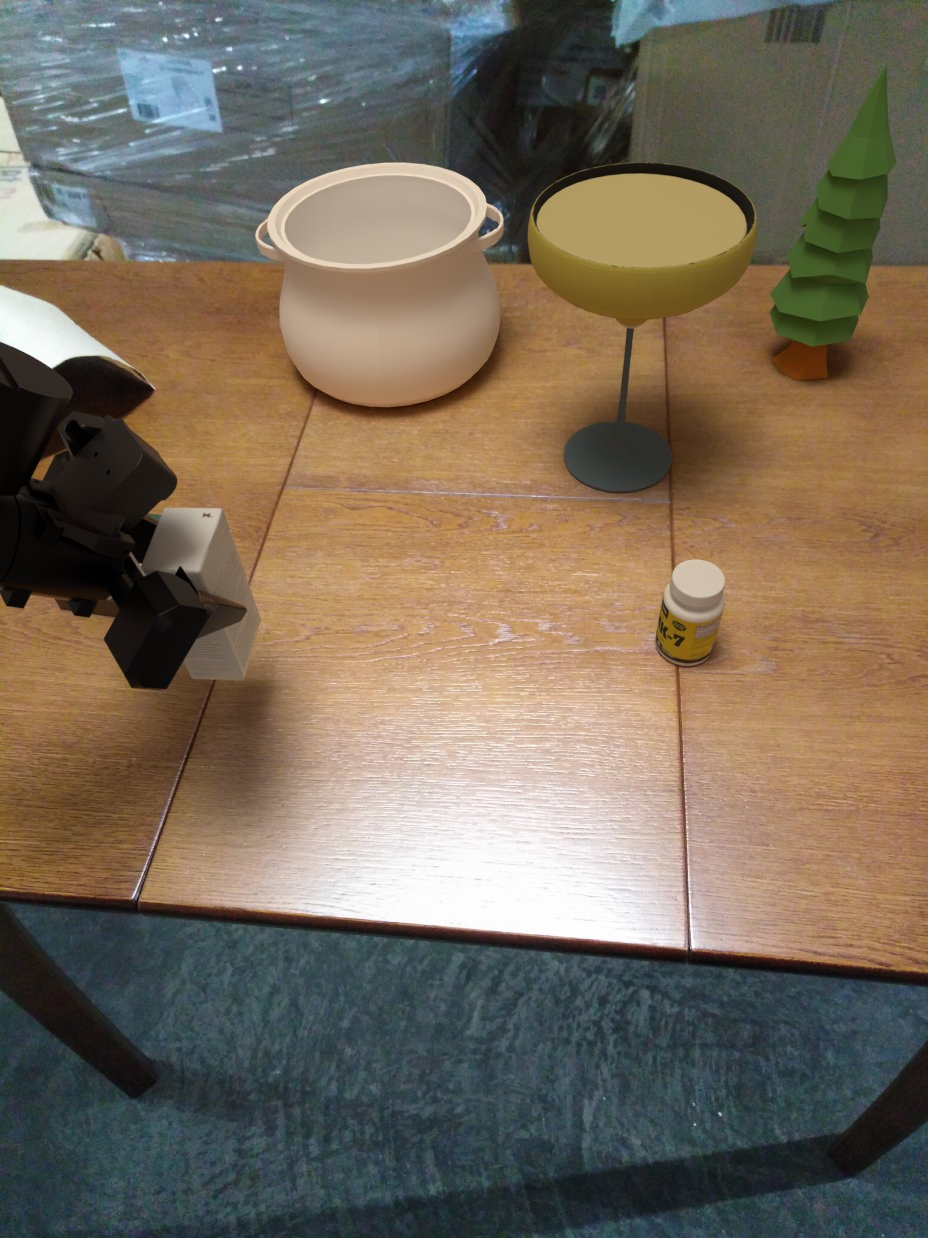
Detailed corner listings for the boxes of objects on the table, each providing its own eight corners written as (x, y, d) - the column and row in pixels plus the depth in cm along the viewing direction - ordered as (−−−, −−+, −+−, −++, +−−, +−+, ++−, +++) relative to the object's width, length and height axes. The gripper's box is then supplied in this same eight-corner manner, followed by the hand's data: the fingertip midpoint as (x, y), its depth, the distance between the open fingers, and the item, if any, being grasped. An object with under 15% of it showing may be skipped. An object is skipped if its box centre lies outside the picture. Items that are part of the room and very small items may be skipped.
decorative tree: (776, 393, 95) (856, 84, 72) (741, 344, 101) (805, 44, 78) (862, 378, 96) (969, 67, 73) (823, 331, 102) (909, 29, 79)
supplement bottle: (643, 635, 75) (654, 567, 69) (691, 615, 76) (706, 546, 70) (675, 676, 72) (690, 609, 66) (724, 655, 73) (743, 587, 67)
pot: (504, 293, 111) (501, 151, 98) (508, 416, 95) (505, 267, 82) (300, 302, 112) (270, 163, 99) (270, 425, 96) (230, 280, 83)
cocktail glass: (696, 399, 95) (739, 155, 76) (722, 517, 84) (780, 265, 64) (526, 403, 96) (526, 164, 77) (528, 520, 85) (529, 274, 66)
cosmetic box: (209, 618, 70) (163, 504, 61) (262, 620, 69) (225, 505, 60) (188, 681, 66) (136, 569, 57) (244, 683, 65) (201, 571, 56)
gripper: (117, 511, 43) (346, 567, 56) (3, 342, 53) (217, 421, 66) (24, 686, 47) (259, 703, 59) (-67, 495, 57) (150, 544, 69)
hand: (220, 583), depth 63 cm, fingers closed on cosmetic box, 7 cm apart
